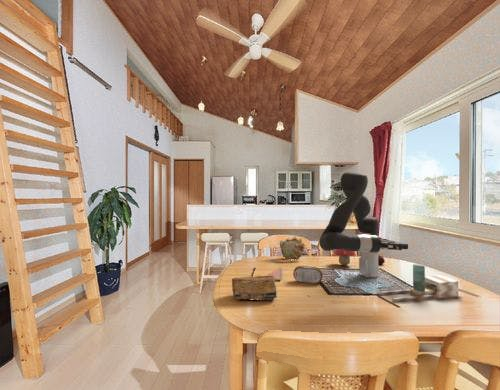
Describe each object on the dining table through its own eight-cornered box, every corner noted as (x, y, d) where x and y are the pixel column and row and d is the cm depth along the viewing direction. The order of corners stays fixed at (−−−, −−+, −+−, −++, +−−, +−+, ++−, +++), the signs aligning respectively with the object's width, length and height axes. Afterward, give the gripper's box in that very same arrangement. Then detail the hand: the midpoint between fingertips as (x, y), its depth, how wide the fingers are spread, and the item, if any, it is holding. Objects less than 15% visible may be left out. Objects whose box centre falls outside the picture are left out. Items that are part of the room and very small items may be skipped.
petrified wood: (232, 303, 111) (231, 278, 113) (232, 298, 124) (231, 276, 126) (278, 300, 112) (276, 275, 115) (273, 296, 125) (272, 274, 127)
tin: (322, 283, 138) (322, 267, 138) (322, 285, 135) (322, 268, 135) (293, 280, 143) (293, 264, 143) (292, 282, 140) (292, 266, 140)
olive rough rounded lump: (306, 235, 185) (300, 235, 200) (281, 236, 184) (277, 237, 199) (308, 261, 182) (302, 259, 197) (283, 263, 181) (279, 261, 196)
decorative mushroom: (331, 266, 172) (330, 243, 173) (337, 262, 184) (337, 240, 184) (352, 269, 165) (352, 245, 165) (357, 264, 176) (357, 242, 176)
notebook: (282, 282, 141) (282, 278, 141) (251, 281, 143) (251, 277, 143) (282, 269, 168) (282, 265, 168) (255, 268, 170) (255, 265, 170)
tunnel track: (398, 307, 107) (397, 287, 107) (376, 296, 120) (376, 278, 120) (481, 299, 115) (480, 281, 115) (452, 289, 128) (452, 273, 128)
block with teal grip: (419, 297, 114) (419, 267, 114) (410, 293, 118) (409, 264, 119) (450, 295, 117) (450, 265, 117) (440, 291, 122) (439, 262, 122)
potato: (372, 262, 183) (372, 253, 183) (385, 264, 178) (385, 255, 178) (369, 264, 178) (369, 255, 178) (383, 266, 172) (383, 257, 173)
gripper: (376, 236, 108) (412, 238, 110) (357, 233, 122) (390, 234, 124) (375, 255, 107) (412, 256, 109) (357, 249, 121) (389, 251, 123)
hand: (400, 245), depth 117 cm, fingers open, 8 cm apart
